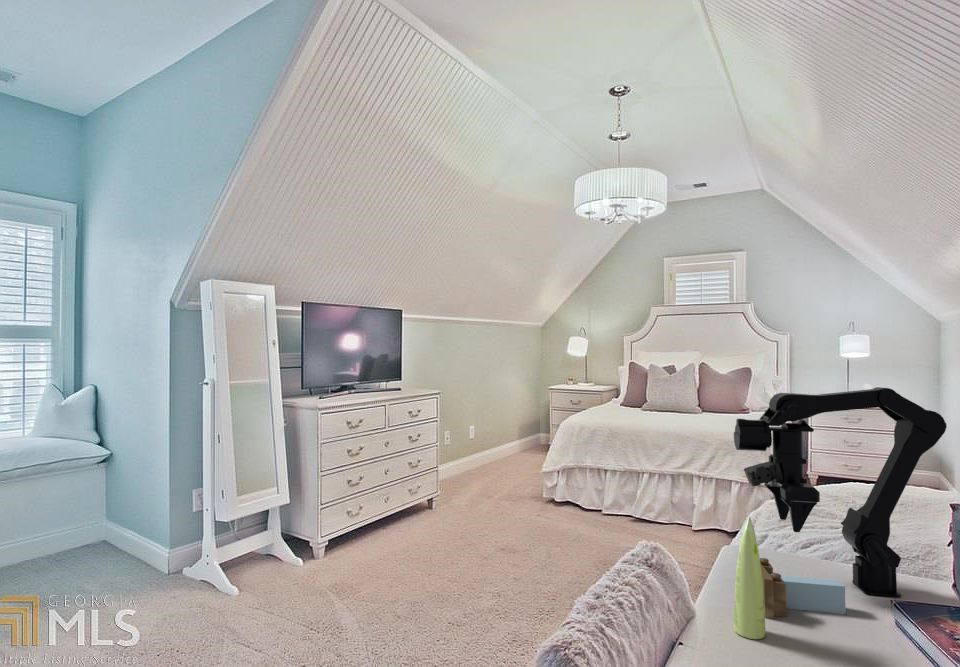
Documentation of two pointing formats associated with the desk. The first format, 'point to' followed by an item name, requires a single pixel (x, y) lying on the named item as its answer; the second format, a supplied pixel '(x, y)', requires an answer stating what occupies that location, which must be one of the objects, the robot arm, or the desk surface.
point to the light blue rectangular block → (814, 594)
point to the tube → (749, 588)
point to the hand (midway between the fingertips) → (789, 525)
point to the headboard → (773, 591)
